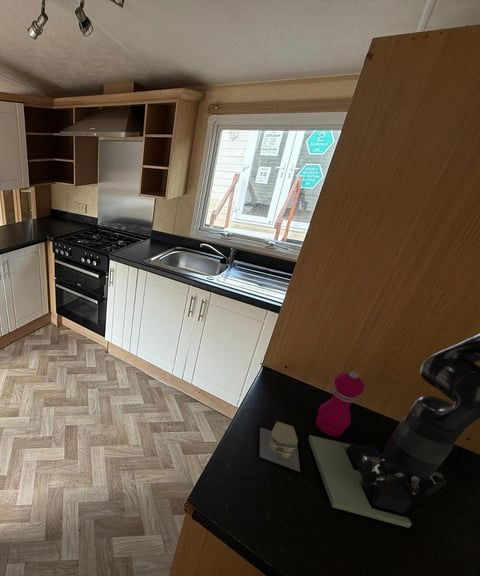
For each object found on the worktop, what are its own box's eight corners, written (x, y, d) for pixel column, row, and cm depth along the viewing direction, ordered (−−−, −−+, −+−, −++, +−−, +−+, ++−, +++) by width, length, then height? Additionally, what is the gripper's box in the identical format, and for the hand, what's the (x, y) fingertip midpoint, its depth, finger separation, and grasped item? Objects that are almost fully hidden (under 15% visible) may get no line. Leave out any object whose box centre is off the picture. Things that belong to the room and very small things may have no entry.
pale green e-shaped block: (369, 452, 80) (371, 448, 80) (408, 528, 65) (412, 524, 64) (307, 438, 84) (309, 435, 83) (331, 507, 69) (334, 503, 68)
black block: (390, 488, 71) (398, 477, 69) (403, 513, 66) (412, 502, 64) (362, 481, 72) (369, 470, 70) (373, 505, 68) (380, 494, 66)
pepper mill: (309, 426, 88) (334, 371, 79) (317, 412, 92) (341, 359, 83) (340, 443, 83) (370, 386, 74) (347, 428, 87) (375, 372, 78)
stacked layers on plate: (260, 427, 87) (264, 413, 85) (296, 439, 84) (302, 425, 81) (259, 457, 79) (264, 442, 77) (300, 472, 76) (306, 457, 73)
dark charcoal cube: (370, 458, 79) (376, 448, 77) (381, 478, 74) (388, 468, 73) (345, 452, 80) (351, 442, 79) (354, 472, 76) (361, 461, 74)
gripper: (450, 438, 63) (412, 489, 70) (366, 420, 67) (338, 470, 74) (479, 472, 56) (433, 524, 64) (384, 451, 60) (351, 502, 68)
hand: (382, 495), depth 69 cm, fingers closed on black block, 5 cm apart
